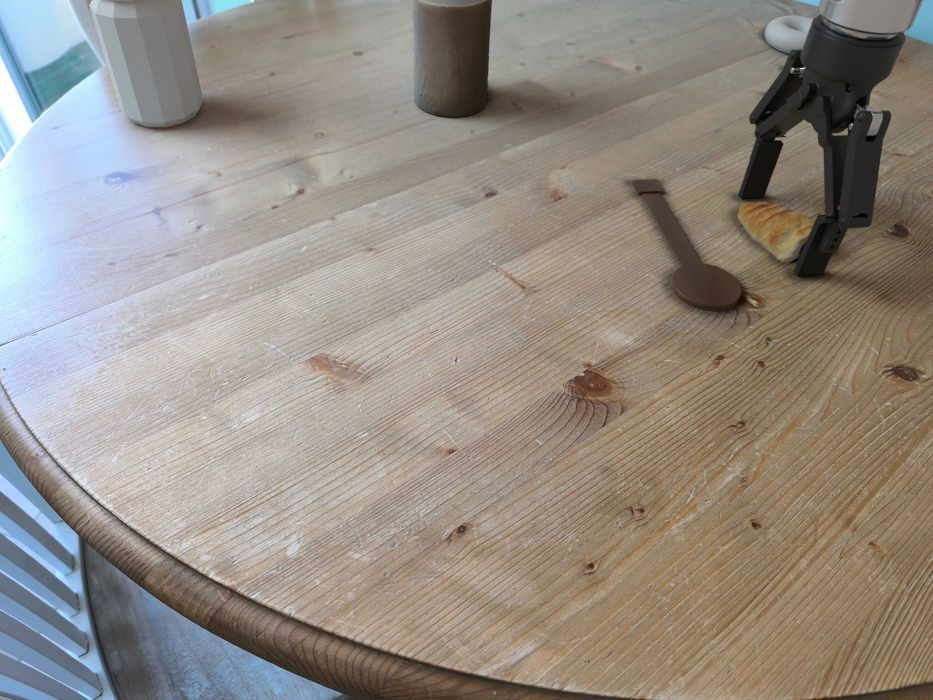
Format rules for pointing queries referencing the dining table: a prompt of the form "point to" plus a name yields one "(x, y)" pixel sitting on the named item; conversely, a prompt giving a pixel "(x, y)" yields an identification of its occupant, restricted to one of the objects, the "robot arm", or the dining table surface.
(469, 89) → the pillar candle
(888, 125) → the robot arm
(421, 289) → the dining table surface
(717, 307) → the spoon
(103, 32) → the jar
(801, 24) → the donut
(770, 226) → the pastry
